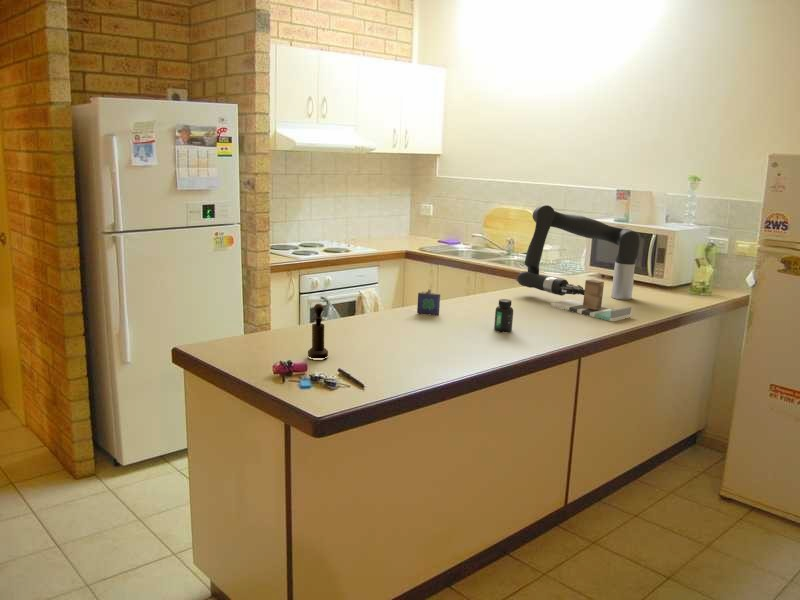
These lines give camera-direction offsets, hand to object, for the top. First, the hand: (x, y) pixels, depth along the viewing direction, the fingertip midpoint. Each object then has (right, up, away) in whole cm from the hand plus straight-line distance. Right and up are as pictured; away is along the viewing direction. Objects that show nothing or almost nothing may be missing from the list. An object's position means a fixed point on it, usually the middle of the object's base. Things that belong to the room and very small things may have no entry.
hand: (587, 293), depth 304 cm
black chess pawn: (-109, -22, -80) cm, 138 cm away
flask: (-71, -9, -17) cm, 74 cm away
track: (0, -8, +1) cm, 8 cm away
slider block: (+2, -6, -1) cm, 7 cm away
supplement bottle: (-43, -15, -37) cm, 59 cm away
